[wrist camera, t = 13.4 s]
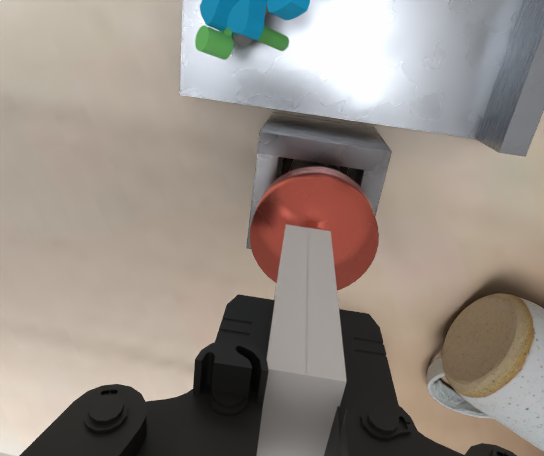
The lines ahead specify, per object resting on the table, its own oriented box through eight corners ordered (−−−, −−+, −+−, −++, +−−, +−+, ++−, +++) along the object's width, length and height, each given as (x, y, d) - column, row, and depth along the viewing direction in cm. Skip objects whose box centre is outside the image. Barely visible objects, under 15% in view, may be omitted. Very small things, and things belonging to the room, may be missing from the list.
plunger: (267, 205, 25) (243, 283, 17) (278, 125, 23) (257, 168, 15) (347, 218, 25) (362, 303, 17) (365, 138, 23) (393, 189, 15)
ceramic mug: (494, 264, 26) (555, 344, 19) (591, 322, 27) (682, 418, 20) (394, 366, 31) (415, 461, 24) (480, 412, 32) (525, 517, 25)
